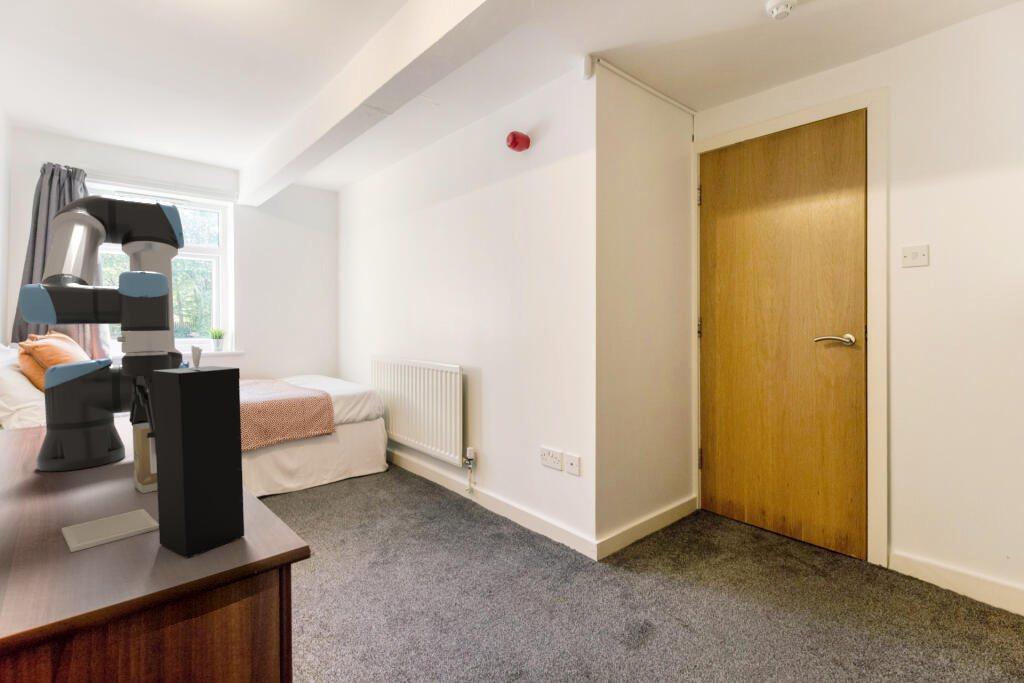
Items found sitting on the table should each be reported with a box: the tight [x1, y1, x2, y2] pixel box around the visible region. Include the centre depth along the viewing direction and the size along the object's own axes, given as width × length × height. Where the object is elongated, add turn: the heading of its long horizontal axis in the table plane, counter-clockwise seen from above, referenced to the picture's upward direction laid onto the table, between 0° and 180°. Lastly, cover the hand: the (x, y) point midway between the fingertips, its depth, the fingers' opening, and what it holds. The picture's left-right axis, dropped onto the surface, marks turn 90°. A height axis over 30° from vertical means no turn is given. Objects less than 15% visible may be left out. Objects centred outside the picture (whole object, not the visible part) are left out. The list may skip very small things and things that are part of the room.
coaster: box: [61, 508, 159, 553], centre depth 73 cm, size 10×10×1 cm
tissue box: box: [152, 345, 245, 559], centre depth 69 cm, size 8×8×28 cm
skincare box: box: [132, 422, 158, 494], centre depth 93 cm, size 6×4×12 cm
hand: (151, 465), depth 92 cm, fingers open, 13 cm apart
